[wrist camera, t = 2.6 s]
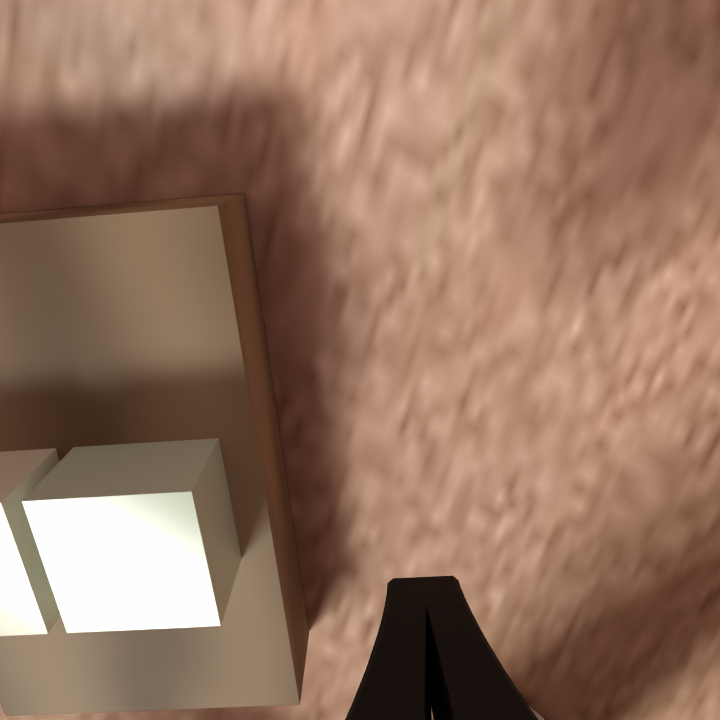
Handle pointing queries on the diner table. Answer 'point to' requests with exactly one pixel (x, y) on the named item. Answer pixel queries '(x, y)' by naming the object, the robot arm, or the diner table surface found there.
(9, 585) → the tile
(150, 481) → the tile
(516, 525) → the diner table surface
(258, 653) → the board
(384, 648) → the robot arm
